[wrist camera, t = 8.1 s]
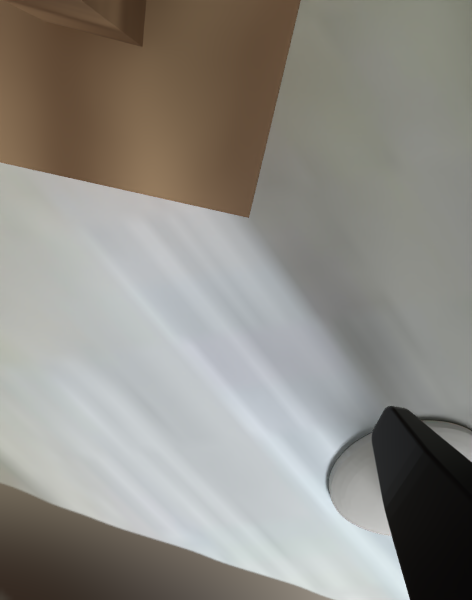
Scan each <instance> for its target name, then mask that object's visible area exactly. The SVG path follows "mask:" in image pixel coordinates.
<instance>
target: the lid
mask: <svg viewBox="0 0 472 600" xmlns="http://www.w3.org/2000/svg"><path fill="white" fill-rule="evenodd" d="M300 1H301V0H0V162H1V163H6V164H10V165H15V166H19V167H24V168H28V169H33V170H37V171H42V172H46V173H51V174H55V175H59V176H64V177H68V178H73V179H77V180H82V181H86V182H91V183H95V184H100V185H104V186H109V187H113V188H118V189H122V190H127V191H131V192H136V193H140V194H145V195H149V196H154V197H158V198H163V199H167V200H172V201H176V202H181V203H185V204H190V205H194V206H199V207H203V208H208V209H212V210H217V211H221V212H225V213H230V214H234V215H239V216H243V217H248V218H249V215H250V211H251V206H252V202H253V198H254V194H255V190H256V185H257V181H258V177H259V173H260V169H261V164H262V160H263V156H264V152H265V148H266V143H267V139H268V135H269V131H270V127H271V122H272V118H273V114H274V110H275V106H276V101H277V97H278V93H279V89H280V85H281V80H282V76H283V72H284V68H285V64H286V59H287V55H288V51H289V47H290V43H291V38H292V34H293V30H294V26H295V22H296V17H297V13H298V9H299V5H300Z"/></svg>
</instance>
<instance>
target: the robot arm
mask: <svg viewBox="0 0 472 600" xmlns="http://www.w3.org/2000/svg"><path fill="white" fill-rule="evenodd" d="M371 438H372V447H373V452H374V457H375V463H376V468H377V474H378V479H379V484H380V490H381V495H382V500H383V505H384V509H385V513H386V517H387V521H388V525H389V528H390V532H391V535H392V538H393V542H394V545H395V549H396V552H397V556H398V559H399V563H400V566H401V570H402V573H403V577H404V580H405V584H406V587H407V591H408V594H409V598H410V600H472V462H471V461H470V460H469V459H467V458H466V457H465V456H464V455H463V454H461V453H460V452H459V451H458V450H456V449H455V448H454V447H453V446H452V445H450V444H449V443H448V442H447V441H446V440H444V439H443V438H442V437H441V436H439V435H438V434H437V433H436V432H435V431H433V430H432V429H431V428H430V427H428V426H427V425H426V424H425V423H424V422H422V421H421V420H420V419H419V418H417V417H416V416H415V415H414V414H413V413H411V412H410V411H409V410H407V409H405V408H400V407H395V406H388V407H387V408H385V410H384V411H383V413H382V415H381V417H380V418H379V420H378V422H377V424H376V426H375V428H374V429H373V432H372V437H371Z"/></svg>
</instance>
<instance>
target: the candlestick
mask: <svg viewBox="0 0 472 600" xmlns="http://www.w3.org/2000/svg"><path fill="white" fill-rule="evenodd" d="M421 421H422V422H424V423H425V424H426V425H427V426H428V427H430V428H431V429H432V430H433V431H435V432H436V433H437V434H438V435H439V436H441V437H442V438H443V439H444V440H446V441H447V442H448V443H449V444H450V445H452V446H453V447H454V448H455V449H456V450H458V451H459V452H460V453H461V454H463V455H464V456H465V457H466V458H467V459H469V460H470V461H471V462H472V431H471V430H469V429H467V428H465V427H463V426H460V425H457V424H453V423H449V422H444V421H435V420H421ZM371 437H372V433H370V434H368V435H366V436H364V437H363V438H361V439H359V440H358V441H356V442H355V443H354V444H352V445H351V446H350V447H349V448H347V449H346V450H345V451H344V452H343V453H342V455H341V456H340V457H339V458H338V460H337V461H336V462H335V464H334V466H333V468H332V470H331V473H330V477H329V492H330V496H331V500H332V502H333V504H334V506H335V508H336V510H337V511H338V512H339V513H340V514H341V515H342V516H343V517H344V518H345V519H346V520H348V521H349V522H351V523H352V524H354V525H356V526H358V527H360V528H363V529H365V530H367V531H370V532H374V533H377V534H382V535H388V536H392V535H391V532H390V528H389V525H388V521H387V517H386V513H385V509H384V505H383V500H382V495H381V490H380V484H379V479H378V474H377V468H376V463H375V457H374V452H373V447H372V438H371Z"/></svg>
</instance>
